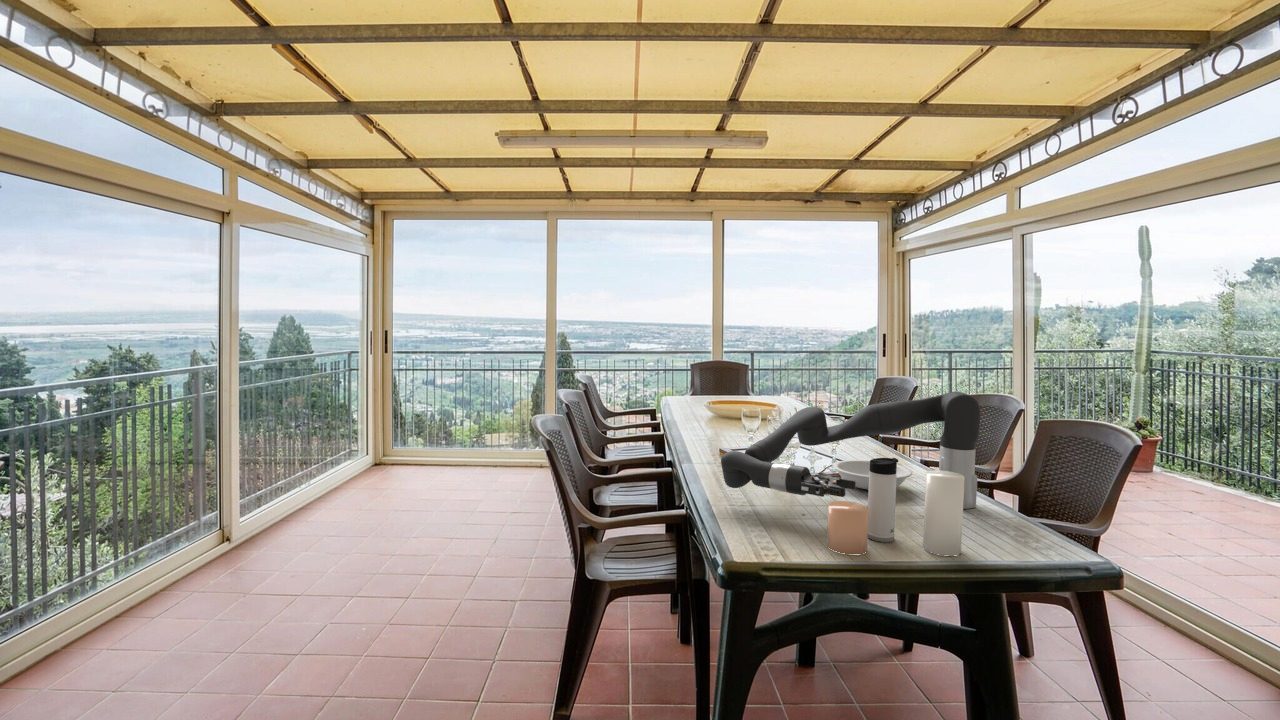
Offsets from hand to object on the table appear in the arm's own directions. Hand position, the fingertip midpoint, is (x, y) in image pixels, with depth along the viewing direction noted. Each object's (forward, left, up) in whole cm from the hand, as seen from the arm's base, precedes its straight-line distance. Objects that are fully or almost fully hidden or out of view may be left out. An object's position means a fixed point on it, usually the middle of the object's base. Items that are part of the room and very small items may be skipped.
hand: (850, 489), depth 149 cm
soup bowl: (-17, -43, -11) cm, 48 cm away
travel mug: (-7, +4, -11) cm, 14 cm away
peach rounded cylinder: (+3, +12, -11) cm, 16 cm away
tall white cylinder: (-19, +10, -11) cm, 24 cm away
